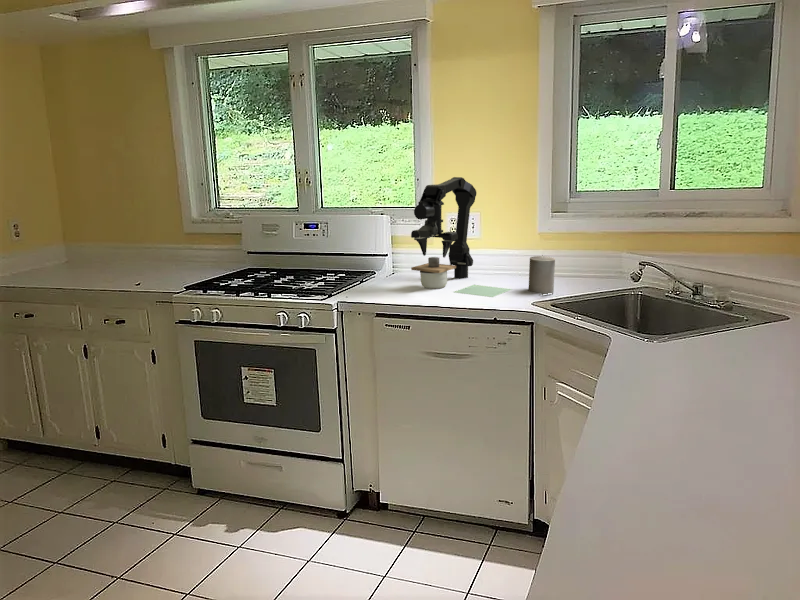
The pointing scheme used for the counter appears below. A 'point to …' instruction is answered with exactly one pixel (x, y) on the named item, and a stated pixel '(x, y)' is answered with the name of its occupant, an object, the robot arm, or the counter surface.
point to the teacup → (433, 279)
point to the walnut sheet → (436, 270)
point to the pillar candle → (541, 274)
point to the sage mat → (483, 290)
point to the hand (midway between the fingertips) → (434, 256)
